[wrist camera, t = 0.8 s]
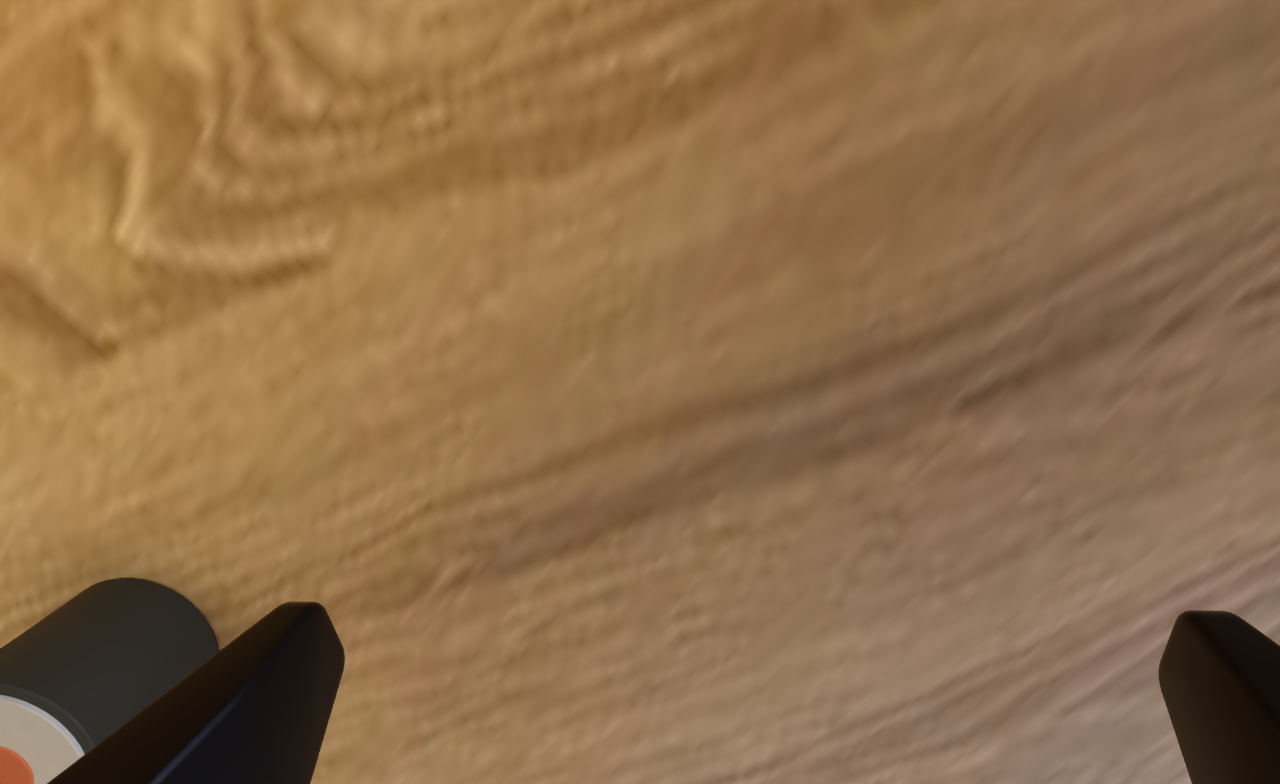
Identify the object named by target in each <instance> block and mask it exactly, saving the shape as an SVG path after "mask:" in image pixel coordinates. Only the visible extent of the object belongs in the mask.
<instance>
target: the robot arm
mask: <svg viewBox="0 0 1280 784" xmlns="http://www.w3.org/2000/svg"><path fill="white" fill-rule="evenodd" d="M344 663H345V655H344V649H343V646H342V644H341V641H340V639H339V637H338V635H337V633H336V631H335V629H334V626H333V624H332V622H331V620H330V618H329V616H328V614H327V611H326V610H325V608H324V607H323V606H322V605H321V604H319V603H317V602H287V603H284V604H282V605H280V606H278V607H277V608H275V609H274V610H273V611H271V612H270V613H269V614H267V615H266V616H265V617H264V618H262V619H261V620H260V621H258V622H257V623H256V624H254V625H253V626H252V627H251V628H249V629H248V630H247V631H245V632H244V633H243V634H241V635H240V636H239V637H237V638H236V639H235V640H234V641H232V642H231V643H230V644H228V645H227V646H226V647H224V648H223V649H222V650H220V651H219V652H218V653H217V654H215V655H214V656H213V657H211V658H210V659H209V660H207V661H206V662H205V663H204V664H202V665H201V666H200V667H198V668H197V669H196V670H194V671H193V672H192V673H190V674H189V675H188V676H187V677H185V678H184V679H183V680H181V681H180V682H179V683H177V684H176V685H175V686H174V687H172V688H171V689H170V690H168V691H167V692H166V693H164V694H163V695H162V696H160V697H159V698H158V699H157V700H155V701H154V702H153V703H151V704H150V705H149V706H147V707H146V708H145V709H144V710H142V711H141V712H140V713H138V714H137V715H136V716H134V717H133V718H132V719H130V720H129V721H128V722H127V723H125V724H124V725H123V726H121V727H120V728H119V729H117V730H116V731H115V732H113V733H112V734H111V735H110V736H108V737H107V738H106V739H104V740H103V741H102V742H100V743H99V744H98V745H97V746H95V747H94V748H93V749H91V750H90V751H89V752H87V753H86V754H85V755H83V756H82V757H81V758H80V759H78V760H77V761H76V762H74V763H73V764H72V765H70V766H69V767H68V768H67V769H65V770H64V771H63V772H61V773H60V774H59V775H57V776H56V777H55V778H53V779H52V780H51V781H50V782H48V783H47V784H310V782H311V779H312V776H313V773H314V769H315V766H316V762H317V759H318V756H319V752H320V749H321V745H322V742H323V738H324V735H325V732H326V728H327V725H328V721H329V718H330V714H331V711H332V708H333V704H334V701H335V697H336V694H337V691H338V687H339V684H340V680H341V677H342V673H343V669H344ZM1159 682H1160V687H1161V691H1162V694H1163V697H1164V700H1165V703H1166V706H1167V709H1168V712H1169V715H1170V718H1171V721H1172V724H1173V727H1174V730H1175V734H1176V737H1177V740H1178V743H1179V746H1180V749H1181V752H1182V755H1183V758H1184V761H1185V764H1186V767H1187V770H1188V773H1189V776H1190V779H1191V782H1192V784H1280V646H1279V645H1278V644H1277V643H1275V642H1274V641H1272V640H1271V639H1270V638H1268V637H1267V636H1265V635H1264V634H1263V633H1261V632H1260V631H1259V630H1257V629H1256V628H1254V627H1253V626H1252V625H1250V624H1249V623H1247V622H1246V621H1245V620H1243V619H1242V618H1240V617H1239V616H1237V615H1235V614H1233V613H1230V612H1226V611H1185V612H1183V613H1182V614H1181V615H1179V616H1178V618H1177V620H1176V622H1175V624H1174V627H1173V630H1172V632H1171V635H1170V637H1169V640H1168V643H1167V645H1166V648H1165V651H1164V653H1163V656H1162V659H1161V661H1160V665H1159Z"/></svg>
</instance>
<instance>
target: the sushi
mask: <svg viewBox="0 0 1280 784" xmlns="http://www.w3.org/2000/svg"><path fill="white" fill-rule="evenodd" d="M218 652H219V651H218V645H217V642H216V639H215V636H214V634H213V632H212V630H211V628H210V626H209V624H208V623H207V621H206V620H205V618H204V617H203V616H202V614H201V613H200V612H199V611H198V610H197V609H196V608H195V607H194V606H193V605H192V604H191V603H190V602H189V601H187V600H186V599H185V598H184V597H182V596H181V595H179V594H178V593H176V592H174V591H173V590H171V589H169V588H167V587H164V586H162V585H159V584H157V583H154V582H150V581H146V580H142V579H133V578H120V579H112V580H107V581H104V582H100V583H98V584H95V585H93V586H91V587H89V588H88V589H86V590H84V591H83V592H81V593H80V594H79V595H77V596H76V597H74V598H73V599H71V600H70V601H68V602H67V603H66V604H64V605H63V606H61V607H60V608H58V609H57V610H56V611H54V612H53V613H51V614H50V615H48V616H47V617H45V618H44V619H43V620H41V621H40V622H38V623H37V624H35V625H34V626H33V627H31V628H30V629H28V630H27V631H25V632H24V633H22V634H21V635H20V636H18V637H17V638H15V639H14V640H12V641H11V642H10V643H8V644H7V645H5V646H4V647H2V648H1V649H0V784H47V783H48V782H50V781H51V780H52V779H53V778H55V777H56V776H57V775H59V774H60V773H61V772H63V771H64V770H65V769H67V768H68V767H69V766H70V765H72V764H73V763H74V762H76V761H77V760H78V759H80V758H81V757H82V756H83V755H85V754H86V753H87V752H89V751H90V750H91V749H93V748H94V747H95V746H97V745H98V744H99V743H100V742H102V741H103V740H104V739H106V738H107V737H108V736H110V735H111V734H112V733H113V732H115V731H116V730H117V729H119V728H120V727H121V726H123V725H124V724H125V723H127V722H128V721H129V720H130V719H132V718H133V717H134V716H136V715H137V714H138V713H140V712H141V711H142V710H144V709H145V708H146V707H147V706H149V705H150V704H151V703H153V702H154V701H155V700H157V699H158V698H159V697H160V696H162V695H163V694H164V693H166V692H167V691H168V690H170V689H171V688H172V687H174V686H175V685H176V684H177V683H179V682H180V681H181V680H183V679H184V678H185V677H187V676H188V675H189V674H190V673H192V672H193V671H194V670H196V669H197V668H198V667H200V666H201V665H202V664H204V663H205V662H206V661H207V660H209V659H210V658H211V657H213V656H214V655H215V654H217V653H218Z"/></svg>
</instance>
